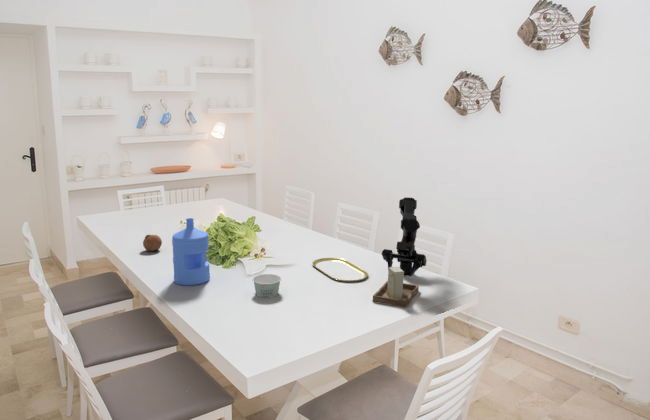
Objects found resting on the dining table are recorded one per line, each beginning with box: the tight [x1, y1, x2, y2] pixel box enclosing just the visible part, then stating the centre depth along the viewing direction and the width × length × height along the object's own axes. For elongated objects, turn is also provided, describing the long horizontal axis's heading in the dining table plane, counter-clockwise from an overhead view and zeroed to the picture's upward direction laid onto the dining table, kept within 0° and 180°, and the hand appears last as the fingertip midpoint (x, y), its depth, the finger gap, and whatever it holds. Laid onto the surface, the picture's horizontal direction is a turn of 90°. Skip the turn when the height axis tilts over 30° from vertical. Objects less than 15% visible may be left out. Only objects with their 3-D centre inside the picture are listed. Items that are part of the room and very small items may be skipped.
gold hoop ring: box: [312, 257, 369, 283], centre depth 242 cm, size 19×35×2 cm, turn 27°
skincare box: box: [387, 266, 405, 299], centre depth 207 cm, size 6×4×12 cm
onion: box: [142, 234, 163, 252], centre depth 268 cm, size 10×9×10 cm
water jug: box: [171, 217, 211, 286], centre depth 223 cm, size 16×16×28 cm
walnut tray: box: [372, 280, 420, 309], centre depth 211 cm, size 20×14×2 cm
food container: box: [252, 273, 282, 298], centre depth 211 cm, size 12×12×6 cm
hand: (399, 274), depth 213 cm, fingers open, 9 cm apart
